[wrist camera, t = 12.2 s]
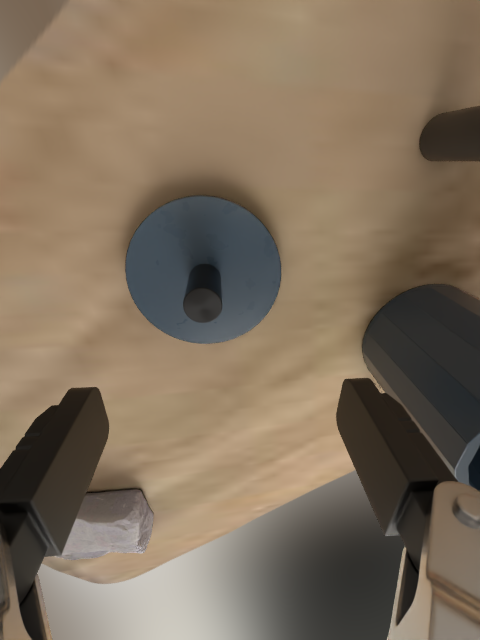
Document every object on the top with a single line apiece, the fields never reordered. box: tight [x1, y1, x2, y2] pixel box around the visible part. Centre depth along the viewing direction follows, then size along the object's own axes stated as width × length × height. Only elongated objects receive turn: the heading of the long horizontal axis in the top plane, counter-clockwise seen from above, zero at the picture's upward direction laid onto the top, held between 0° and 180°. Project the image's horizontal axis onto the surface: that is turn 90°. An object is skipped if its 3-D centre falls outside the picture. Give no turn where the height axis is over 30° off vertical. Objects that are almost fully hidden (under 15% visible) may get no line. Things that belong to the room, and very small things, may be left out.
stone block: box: [56, 489, 153, 560], centre depth 36 cm, size 12×5×10 cm
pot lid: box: [125, 195, 281, 344], centre depth 21 cm, size 12×12×6 cm
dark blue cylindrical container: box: [362, 284, 480, 491], centre depth 22 cm, size 11×11×12 cm
